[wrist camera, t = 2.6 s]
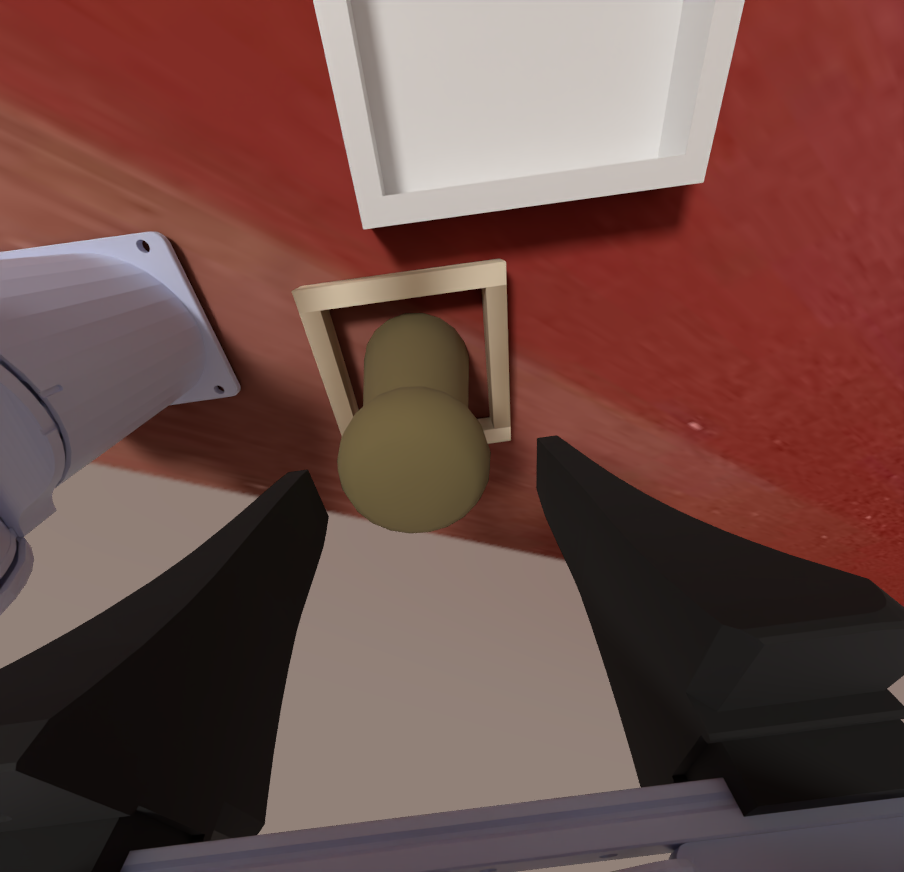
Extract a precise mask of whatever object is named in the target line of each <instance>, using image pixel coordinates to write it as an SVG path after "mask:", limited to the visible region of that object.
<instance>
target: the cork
mask: <svg viewBox="0 0 904 872" xmlns="http://www.w3.org/2000/svg"><path fill="white" fill-rule="evenodd" d="M468 381H469V356H468V353H467V349H466V346H465V343H464V341H463V340H462V338H461V337H460V336H459V334H458V333H457V331H456V330H455V329H454V328H453V327H452V326H450V325H449V324H448V323H446V322H445V321H443V320H442V319H440V318H438V317H435V316H431V315H428V314H425V313H405V314H402V315H399V316H397V317H394V318H391V319H389V320H387V321H386V322H385V323H384V324H383V325H381V326H380V327H379V328H378V329H377V330H375V332H374V334H373V336H372V337H371V339H370V341H369V342H368V344H367V348H366V353H365V358H364V392H363V407H362V408H361V409H360V410H359V411H358V412H356V414H355V415H354V417H353V418H352V420H351V421H350V423H349V425H348V426H347V428H346V429H345V431H344V433H343V436H342V439H341V442H340V448H339V453H338V459H337V463H338V473H339V477H340V481H341V485H342V489H343V491H344V492H345V494H346V495H347V497H348V498H349V500H350V501H351V503H352V504H353V505H354V507H355V508H356V510H357V511H358V512H359V513H360V514H361V515H363V516H364V517H365V518H367V519H368V520H369V521H371V522H372V523H374V524H376V525H379V526H381V527H383V528H386V529H389V530H391V531H398V532H405V533H422V532H431V531H434V530H438V529H441V528H444V527H448V526H449V525H451V524H453V523H455V522H456V521H458V520H460V519H461V518H463V517H464V516H465V515H466V514H467V513H468V512H469V511H470V510H471V509H472V508H473V507H474V506H475V505H476V503H477V502H478V500H479V499H480V498H481V496H482V494H483V491H484V489H485V487H486V485H487V483H488V480H489V470H490V454H491V452H490V449H489V446H488V443H487V440H486V437H485V434H484V431H483V428H482V425H481V423H480V422H479V421H478V420H477V419H476V417H475V416H474V415H473V414H472V413H471V411H470V410H469V409H468Z"/></svg>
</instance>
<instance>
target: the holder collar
mask: <svg viewBox="0 0 904 872" xmlns="http://www.w3.org/2000/svg"><path fill="white" fill-rule="evenodd" d="M479 288H481V289H482V304H483V319H484V335H485V350H486V366H487V381H488V397H489V412H490V417H487V418H480V419H477V420H478V421H479V422H480V423H481V425H482V428H483V431H484V434H485V437H486V440H487V443H488V444H489V443H497V442H504V441H511V427H510V391H509V355H508V319H507V283H506V261H504V260H502V259H492V260H485V261H478V262H471V263H464V264H456V265H449V266H442V267H435V268H428V269H420V270H413V271H406V272H399V273H392V274H384V275H377V276H370V277H363V278H356V279H348V280H341V281H334V282H327V283H320V284H312V285H305V286H300V287H299V288H297V289H295V290H293V291H292V294H293V297H294V300H295V302H296V305H297V308H298V311H299V314H300V317H301V320H302V323H303V326H304V328H305V331H306V334H307V337H308V340H309V343H310V346H311V349H312V352H313V354H314V357H315V360H316V363H317V366H318V369H319V372H320V375H321V378H322V381H323V383H324V386H325V389H326V392H327V395H328V398H329V401H330V404H331V407H332V409H333V412H334V415H335V418H336V421H337V424H338V427H339V430H340V433H341V435H342V436H343V433H344V431H345V429H346V428H347V426H348V425H349V423H350V421H351V420H352V418H353V417H354V415H355V414H356V412H358V411H359V409H358V405H357V402H356V399H355V395H354V392H353V389H352V385H351V382H350V378H349V375H348V372H347V368H346V365H345V362H344V358H343V355H342V352H341V348H340V345H339V342H338V338H337V335H336V332H335V328H334V325H333V322H332V318H331V315H330V312H329V309H335V308H342V307H349V306H357V305H364V304H371V303H378V302H385V301H393V300H400V299H407V298H414V297H421V296H428V295H436V294H443V293H450V292H457V291H464V290H471V289H479Z"/></svg>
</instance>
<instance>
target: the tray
mask: <svg viewBox="0 0 904 872" xmlns="http://www.w3.org/2000/svg"><path fill="white" fill-rule="evenodd" d="M744 1H745V0H313V2H314V6H315V11H316V15H317V20H318V24H319V29H320V34H321V38H322V43H323V47H324V52H325V56H326V61H327V65H328V70H329V75H330V79H331V84H332V88H333V93H334V97H335V102H336V106H337V111H338V116H339V120H340V125H341V129H342V134H343V138H344V143H345V147H346V152H347V157H348V161H349V166H350V170H351V175H352V179H353V184H354V189H355V193H356V198H357V202H358V207H359V211H360V216H361V220H362V225H363V229H371V228H378V227H385V226H392V225H400V224H407V223H414V222H421V221H429V220H436V219H443V218H450V217H457V216H465V215H472V214H479V213H486V212H494V211H501V210H508V209H515V208H523V207H530V206H537V205H544V204H552V203H559V202H566V201H573V200H581V199H588V198H595V197H602V196H609V195H617V194H624V193H631V192H638V191H646V190H653V189H660V188H667V187H674V186H681V185H689V184H696V183H703V182H704V178H705V173H706V169H707V165H708V160H709V156H710V151H711V147H712V143H713V138H714V134H715V129H716V125H717V120H718V116H719V112H720V107H721V103H722V98H723V94H724V90H725V85H726V81H727V76H728V72H729V68H730V63H731V59H732V54H733V50H734V45H735V41H736V37H737V32H738V28H739V23H740V19H741V15H742V10H743V6H744Z"/></svg>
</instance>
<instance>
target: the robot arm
mask: <svg viewBox="0 0 904 872" xmlns="http://www.w3.org/2000/svg"><path fill="white" fill-rule="evenodd" d="M143 240H144V241H145V242H147V243H148V245H149V247H150V251H149V252H148V251H147V250H145V248H144V247H143V244H142V242H143ZM217 385H218V386H221V387H223V389H224V391H221V390H220V389H219V388H218V386H217ZM240 389H241V387H240V384H239V382H238V380H237V378H236V376H235V374H234V372H233V370H232V368H231V366H230V364H229V362H228V359H227V357H226V355H225V353H224V351H223V349H222V347H221V345H220V343H219V341H218V339H217V337H216V335H215V333H214V331H213V329H212V327H211V325H210V323H209V321H208V319H207V317H206V315H205V313H204V311H203V308H202V306H201V304H200V302H199V300H198V298H197V296H196V294H195V292H194V290H193V288H192V286H191V284H190V282H189V280H188V278H187V276H186V274H185V272H184V270H183V268H182V266H181V264H180V262H179V259H178V257H177V255H176V253H175V251H174V249H173V247H172V245H171V243H170V242H169V240H168V239H167V238H166V237H165V236H164V235H163V234H161V233H159V232H143V233H136V234H129V235H121V236H114V237H107V238H100V239H92V240H85V241H78V242H71V243H63V244H56V245H49V246H42V247H34V248H27V249H20V250H13V251H5V252H0V615H1V614H2V613H3V612H4V611H5V610H6V608H7V607H8V606H9V605H10V604H11V603H12V602H13V601H14V600H15V599H16V597H17V596H18V594H19V593H20V591H21V590H22V589H23V587H24V586H25V584H26V583H27V581H28V578H29V576H30V574H31V572H32V568H33V562H34V556H33V552H32V548H31V546H30V545H29V543H28V542H27V541H26V539H25V538H24V536H25V535H26V534H28V533H29V532H30V531H32V530H33V529H34V528H35V527H37V526H38V525H39V524H40V523H42V522H43V521H44V520H45V519H47V518H48V517H49V516H51V515H52V514H53V513H54V512H55V511H56V508H55V506H54V504H53V501H52V493H53V490H54V489H55V488H56V487H57V486H59V485H60V484H61V483H63V482H64V481H66V480H67V479H68V478H70V477H71V476H72V475H74V474H75V473H77V472H78V471H79V470H81V469H82V468H84V467H85V466H86V465H88V464H89V463H90V462H92V461H93V460H94V459H96V458H97V457H99V456H100V455H101V454H103V453H104V452H105V451H107V450H108V449H110V448H111V447H112V446H114V445H115V444H116V443H118V442H119V441H121V440H122V439H123V438H125V437H126V436H127V435H129V434H130V433H132V432H133V431H134V430H136V429H137V428H138V427H140V426H141V425H143V424H144V423H145V422H147V421H148V420H149V419H151V418H152V417H154V416H155V415H156V414H158V413H159V412H160V411H162V410H163V409H165V408H166V407H167V406H169V405H175V404H182V403H189V402H196V401H203V400H210V399H217V398H224V397H231V396H235V395H237V394H238V393H239V392H240ZM536 488H537V492H538V495H539V498H540V502H541V505H542V508H543V511H544V514H545V517H546V519H547V521H548V524H549V526H550V528H551V530H552V532H553V535H554V537H555V539H556V541H557V543H558V546H559V548H560V550H561V552H562V554H563V556H564V558H565V561H566V563H567V565H568V567H569V569H570V571H571V573H572V576H573V578H574V580H575V583H576V585H577V587H578V590H579V592H580V595H581V597H582V601H583V603H584V606H585V609H586V612H587V615H588V618H589V621H590V623H591V626H592V629H593V632H594V635H595V638H596V641H597V644H598V647H599V650H600V653H601V656H602V660H603V663H604V666H605V669H606V672H607V675H608V678H609V682H610V685H611V688H612V691H613V694H614V698H615V701H616V704H617V707H618V710H619V714H620V717H621V721H622V724H623V727H624V731H625V734H626V738H627V741H628V744H629V748H630V751H631V754H632V758H633V762H634V765H635V769H636V772H637V776H638V779H639V783H640V786H641V788H634V789H626V790H619V791H610V792H602V793H594V794H586V795H578V796H570V797H562V798H554V799H545V800H537V801H530V802H521V803H513V804H505V805H497V806H489V807H481V808H473V809H465V810H457V811H449V812H440V813H432V814H425V815H417V816H408V817H400V818H392V819H385V820H376V821H368V822H360V823H353V824H344V825H336V826H328V827H320V828H311V829H304V830H295V831H287V832H279V833H271V834H263V835H257V834H258V833H259V832H260V830H261V829H262V827H263V826H264V824H265V816H266V807H267V799H268V792H269V784H270V776H271V769H272V762H273V754H274V748H275V742H276V735H277V729H278V723H279V716H280V710H281V705H282V699H283V694H284V689H285V684H286V678H287V674H288V668H289V664H290V659H291V655H292V650H293V645H294V641H295V636H296V631H297V628H298V624H299V621H300V618H301V614H302V611H303V608H304V605H305V602H306V599H307V596H308V593H309V590H310V587H311V584H312V581H313V578H314V575H315V571H316V569H317V565H318V562H319V559H320V556H321V552H322V549H323V546H324V541H325V536H326V530H327V524H328V517H329V516H328V514H327V512H326V509H325V507H324V505H323V503H322V500H321V498H320V496H319V494H318V491H317V489H316V487H315V485H314V482H313V480H312V478H311V476H310V473H309V471H308V470H301V471H294V472H288V473H287V474H286V475H284V476H283V477H282V478H280V479H279V480H278V481H277V482H276V483H274V484H273V485H272V486H271V487H270V488H269V489H267V490H266V491H265V492H264V493H263V494H262V495H261V496H259V497H258V498H257V499H256V500H255V501H254V502H253V503H251V504H250V505H249V506H248V507H247V508H246V509H245V510H243V511H242V512H241V513H240V514H239V515H238V516H236V517H235V518H234V519H233V520H232V521H230V522H229V523H228V524H227V525H226V526H224V527H223V528H222V529H221V530H219V531H218V532H217V533H216V534H215V535H213V536H212V537H211V538H209V539H208V540H207V541H206V542H205V543H203V544H202V545H201V546H200V547H198V548H197V549H196V550H195V551H193V552H192V553H190V554H189V555H188V556H186V557H185V558H184V559H182V560H181V561H180V562H178V563H177V564H175V565H174V566H172V567H171V568H170V569H168V570H167V571H165V572H164V573H163V574H161V575H160V576H158V577H157V578H155V579H154V580H152V581H151V582H150V583H148V584H146V585H145V586H143V587H142V588H140V589H138V590H137V591H135V592H134V593H132V594H131V595H129V596H127V597H126V598H124V599H123V600H121V601H120V602H118V603H116V604H115V605H113V606H112V607H110V608H108V609H107V610H105V611H104V612H102V613H101V614H99V615H97V616H95V617H94V618H92V619H90V620H89V621H87V622H85V623H83V624H82V625H80V626H78V627H77V628H75V629H73V630H71V631H70V632H68V633H66V634H64V635H62V636H61V637H59V638H57V639H55V640H54V641H52V642H50V643H49V644H47V645H45V646H43V647H41V648H39V649H37V650H35V651H34V652H32V653H30V654H28V655H26V656H24V657H22V658H20V659H19V660H17V661H15V662H13V663H11V664H9V665H7V666H5V667H3V668H1V669H0V872H516V871H524V870H533V869H540V868H549V867H557V866H566V865H574V864H582V863H590V862H599V861H607V860H615V859H623V858H631V857H639V856H648V855H656V854H664V853H671V855H670V857H669V860H664V861H659V862H653V863H648V864H644V865H639V866H635V867H630V868H626V869H622V870H617V871H612V872H904V723H903V722H902V721H901V720H900V719H904V706H903V705H902V704H901V703H900V702H899V701H898V699H896V697H895V696H894V695H892V693H891V692H890V691H889V690H887V688H888V687H890V686H891V685H892V684H893V683H895V682H896V681H897V680H898V679H900V678H901V677H902V676H903V675H904V607H903V606H902V605H900V604H899V603H898V602H897V601H895V600H894V599H893V598H892V597H890V596H889V595H888V594H887V593H885V592H884V591H883V590H882V589H880V588H879V587H878V586H877V585H876V584H874V583H873V582H872V581H870V580H869V579H867V578H864V577H861V576H857V575H854V574H851V573H847V572H844V571H841V570H838V569H834V568H831V567H828V566H825V565H821V564H818V563H815V562H811V561H808V560H805V559H802V558H798V557H795V556H792V555H789V554H786V553H783V552H780V551H778V550H775V549H772V548H769V547H766V546H764V545H761V544H758V543H755V542H752V541H750V540H747V539H744V538H742V537H739V536H737V535H734V534H731V533H729V532H726V531H724V530H721V529H719V528H717V527H714V526H712V525H710V524H707V523H705V522H703V521H700V520H698V519H696V518H693V517H691V516H689V515H687V514H685V513H682V512H680V511H678V510H676V509H674V508H672V507H670V506H668V505H666V504H664V503H662V502H660V501H658V500H656V499H654V498H652V497H650V496H649V495H647V494H645V493H643V492H641V491H640V490H638V489H636V488H634V487H633V486H631V485H629V484H628V483H626V482H624V481H623V480H621V479H619V478H618V477H616V476H615V475H613V474H611V473H610V472H608V471H607V470H605V469H604V468H602V467H601V466H599V465H598V464H596V463H595V462H593V461H592V460H591V459H589V458H588V457H586V456H585V455H584V454H582V453H581V452H579V451H578V450H577V449H575V448H574V447H572V446H571V445H570V444H568V443H567V442H566V441H564V440H563V439H561V438H560V437H558V436H557V435H556V436H549V437H542V438H537V486H536Z"/></svg>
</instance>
